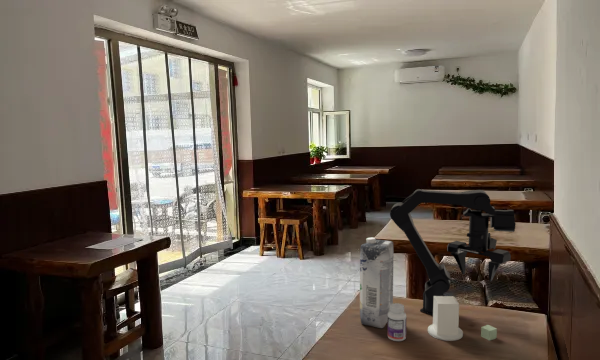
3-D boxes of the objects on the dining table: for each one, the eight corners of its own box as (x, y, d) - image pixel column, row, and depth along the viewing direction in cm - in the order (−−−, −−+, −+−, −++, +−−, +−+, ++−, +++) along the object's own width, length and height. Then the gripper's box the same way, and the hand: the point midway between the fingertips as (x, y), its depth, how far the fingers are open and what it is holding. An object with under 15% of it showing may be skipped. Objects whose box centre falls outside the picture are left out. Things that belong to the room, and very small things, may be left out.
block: (480, 336, 134) (481, 326, 134) (487, 334, 135) (488, 324, 135) (489, 340, 131) (489, 331, 131) (496, 338, 133) (496, 328, 132)
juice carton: (394, 317, 147) (395, 236, 144) (384, 330, 138) (386, 244, 135) (368, 312, 151) (369, 233, 148) (357, 325, 142) (357, 240, 139)
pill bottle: (394, 331, 138) (394, 300, 136) (409, 337, 134) (410, 305, 132) (383, 337, 134) (384, 305, 133) (399, 343, 130) (399, 311, 129)
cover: (432, 325, 139) (433, 296, 138) (452, 326, 139) (453, 296, 138) (437, 334, 133) (438, 303, 132) (458, 335, 133) (459, 304, 132)
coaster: (421, 332, 137) (421, 329, 137) (439, 322, 143) (439, 320, 143) (451, 344, 129) (451, 341, 129) (469, 333, 136) (469, 330, 136)
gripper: (519, 230, 143) (517, 278, 145) (464, 221, 157) (463, 265, 159) (503, 236, 135) (500, 287, 137) (446, 226, 149) (445, 272, 151)
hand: (476, 277), depth 146 cm, fingers open, 9 cm apart
